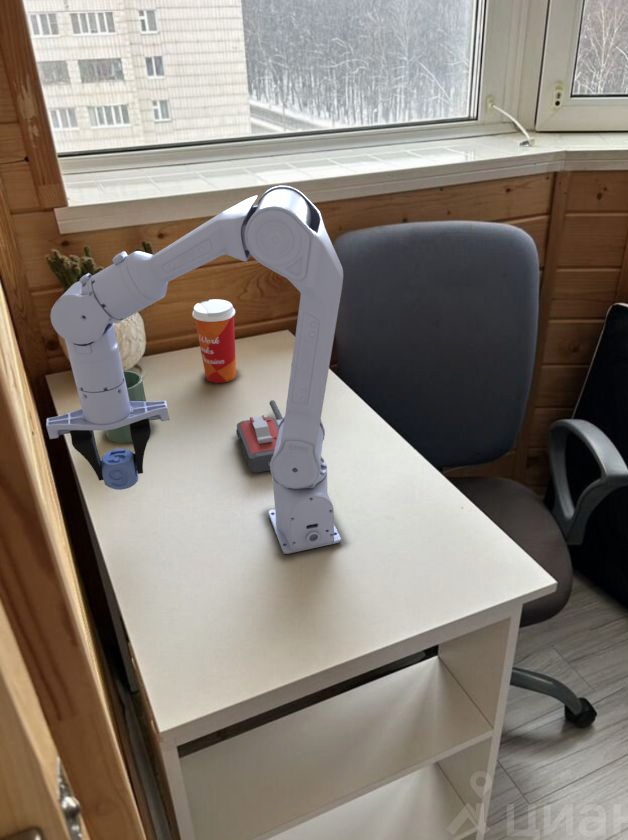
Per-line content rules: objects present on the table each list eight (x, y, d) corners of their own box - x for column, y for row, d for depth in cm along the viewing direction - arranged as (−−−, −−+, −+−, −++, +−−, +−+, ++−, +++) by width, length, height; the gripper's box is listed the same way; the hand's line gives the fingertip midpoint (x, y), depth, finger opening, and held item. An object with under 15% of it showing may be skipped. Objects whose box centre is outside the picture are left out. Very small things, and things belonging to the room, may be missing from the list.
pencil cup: (153, 438, 119) (143, 387, 113) (107, 446, 117) (95, 394, 111) (149, 417, 124) (139, 367, 119) (105, 424, 122) (93, 374, 117)
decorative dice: (138, 471, 99) (133, 446, 96) (137, 488, 95) (132, 463, 93) (108, 474, 98) (102, 450, 96) (106, 491, 95) (100, 466, 92)
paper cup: (192, 375, 137) (182, 305, 129) (226, 363, 142) (219, 294, 134) (215, 390, 132) (206, 318, 125) (250, 377, 137) (243, 306, 129)
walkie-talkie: (307, 468, 112) (278, 407, 127) (306, 444, 109) (276, 385, 125) (251, 479, 109) (228, 415, 125) (249, 454, 107) (225, 392, 122)
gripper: (158, 359, 93) (173, 447, 101) (38, 375, 89) (63, 466, 97) (163, 384, 88) (179, 475, 95) (36, 402, 84) (63, 496, 92)
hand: (121, 472), depth 96 cm, fingers closed on decorative dice, 4 cm apart
